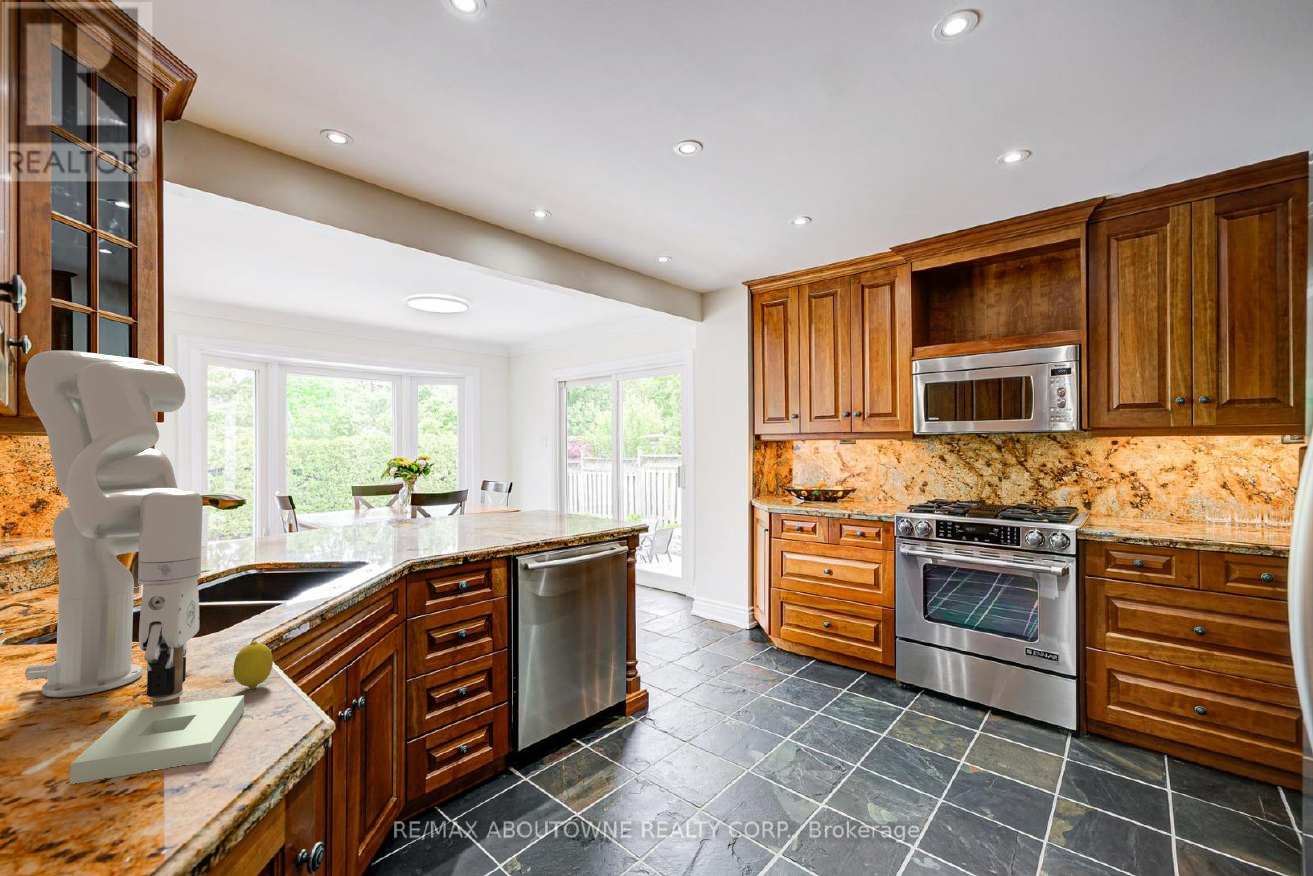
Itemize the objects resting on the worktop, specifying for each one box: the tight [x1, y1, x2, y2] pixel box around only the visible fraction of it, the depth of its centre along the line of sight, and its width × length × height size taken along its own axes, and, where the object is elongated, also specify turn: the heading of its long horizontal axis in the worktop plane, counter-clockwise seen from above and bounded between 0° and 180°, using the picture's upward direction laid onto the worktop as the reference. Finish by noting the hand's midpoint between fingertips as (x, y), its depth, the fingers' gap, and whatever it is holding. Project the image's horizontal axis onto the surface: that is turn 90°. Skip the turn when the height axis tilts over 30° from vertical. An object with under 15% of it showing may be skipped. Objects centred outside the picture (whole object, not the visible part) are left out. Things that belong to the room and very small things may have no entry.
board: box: [69, 694, 245, 785], centre depth 80 cm, size 14×16×2 cm
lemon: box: [233, 640, 274, 690], centre depth 99 cm, size 6×6×8 cm
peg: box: [149, 643, 184, 707], centre depth 90 cm, size 4×4×11 cm
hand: (166, 688), depth 90 cm, fingers closed on peg, 3 cm apart
